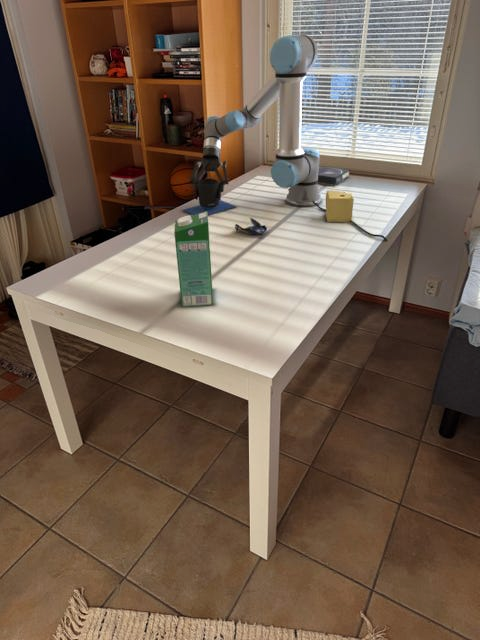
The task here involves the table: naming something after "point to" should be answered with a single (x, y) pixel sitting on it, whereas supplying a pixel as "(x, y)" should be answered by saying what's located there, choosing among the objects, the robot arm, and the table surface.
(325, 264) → the table surface
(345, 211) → the cheese
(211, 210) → the blue cloth
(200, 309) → the table surface
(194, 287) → the milk carton
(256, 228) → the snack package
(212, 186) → the pen holder
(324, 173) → the portable cd player
